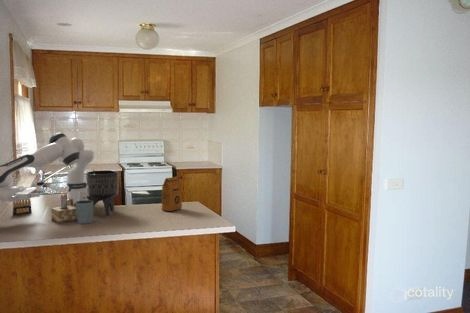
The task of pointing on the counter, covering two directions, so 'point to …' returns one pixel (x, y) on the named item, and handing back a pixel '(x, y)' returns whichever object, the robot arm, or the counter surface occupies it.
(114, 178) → the planter
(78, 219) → the blue-grey cup
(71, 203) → the thick bronze bit
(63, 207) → the steel bit
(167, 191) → the coffee package
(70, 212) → the socket block
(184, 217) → the counter surface
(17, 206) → the ammunition clip
